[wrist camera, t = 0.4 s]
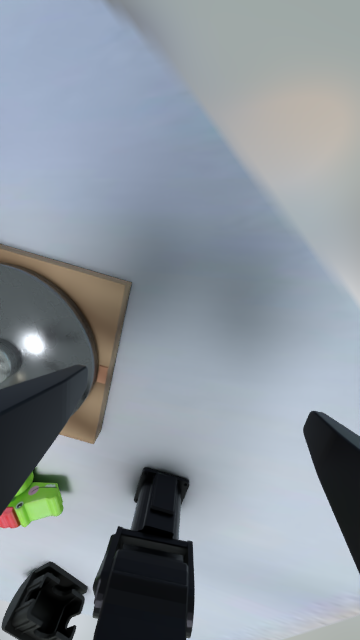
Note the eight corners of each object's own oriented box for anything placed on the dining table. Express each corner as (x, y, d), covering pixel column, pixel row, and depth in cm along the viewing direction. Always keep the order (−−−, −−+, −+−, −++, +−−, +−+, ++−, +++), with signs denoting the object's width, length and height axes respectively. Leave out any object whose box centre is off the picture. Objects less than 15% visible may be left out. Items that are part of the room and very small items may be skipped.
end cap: (26, 571, 39) (-8, 634, 33) (49, 558, 37) (18, 622, 31) (67, 599, 41) (43, 663, 35) (91, 588, 39) (70, 654, 33)
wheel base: (100, 431, 28) (92, 445, 26) (-49, 388, 28) (-69, 399, 26) (131, 282, 22) (124, 285, 20) (-60, 226, 22) (-88, 223, 19)
